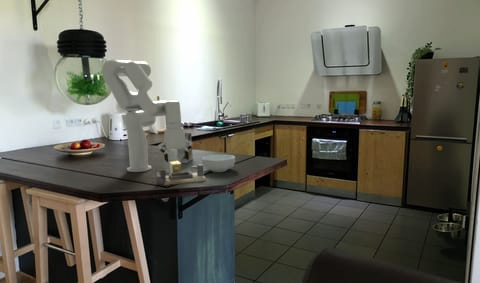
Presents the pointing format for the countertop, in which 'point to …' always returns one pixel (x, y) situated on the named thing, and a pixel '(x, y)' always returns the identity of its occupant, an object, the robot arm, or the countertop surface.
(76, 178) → the countertop surface
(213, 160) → the cereal bowl
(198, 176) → the shaft bench
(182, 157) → the coffee box
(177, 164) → the coupler
